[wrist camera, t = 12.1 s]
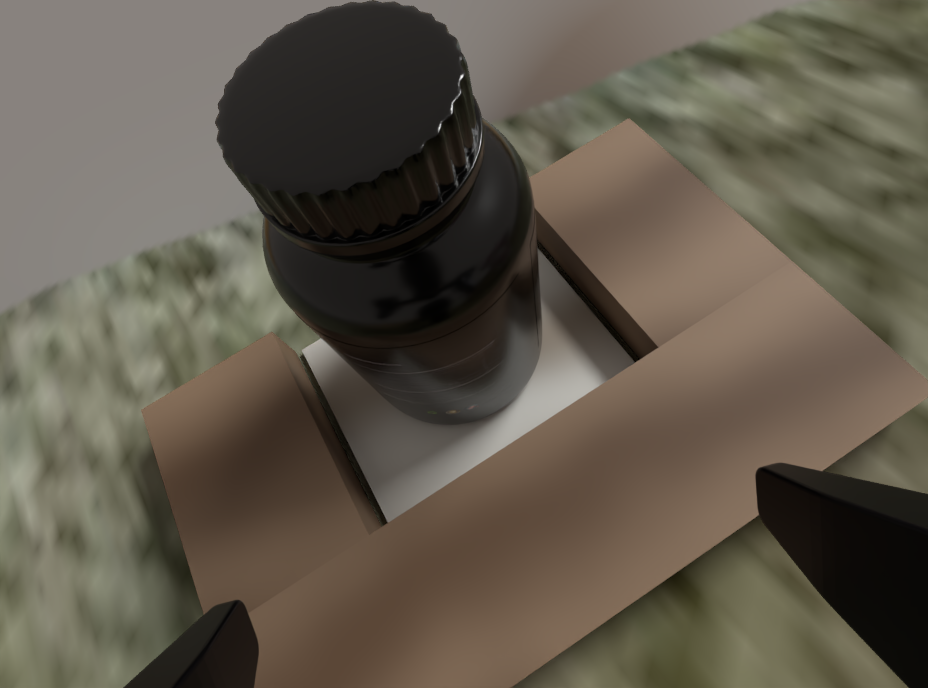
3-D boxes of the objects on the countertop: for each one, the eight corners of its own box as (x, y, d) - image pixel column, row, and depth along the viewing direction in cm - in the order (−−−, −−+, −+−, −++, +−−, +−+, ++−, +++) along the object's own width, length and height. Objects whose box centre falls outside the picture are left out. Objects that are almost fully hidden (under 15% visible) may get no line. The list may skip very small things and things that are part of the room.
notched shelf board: (897, 409, 17) (938, 389, 15) (309, 817, 15) (276, 851, 13) (623, 154, 23) (628, 118, 21) (176, 423, 21) (141, 409, 19)
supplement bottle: (366, 285, 22) (183, 5, 11) (527, 255, 21) (498, -75, 10) (373, 445, 19) (134, 277, 8) (559, 416, 18) (565, 191, 8)
